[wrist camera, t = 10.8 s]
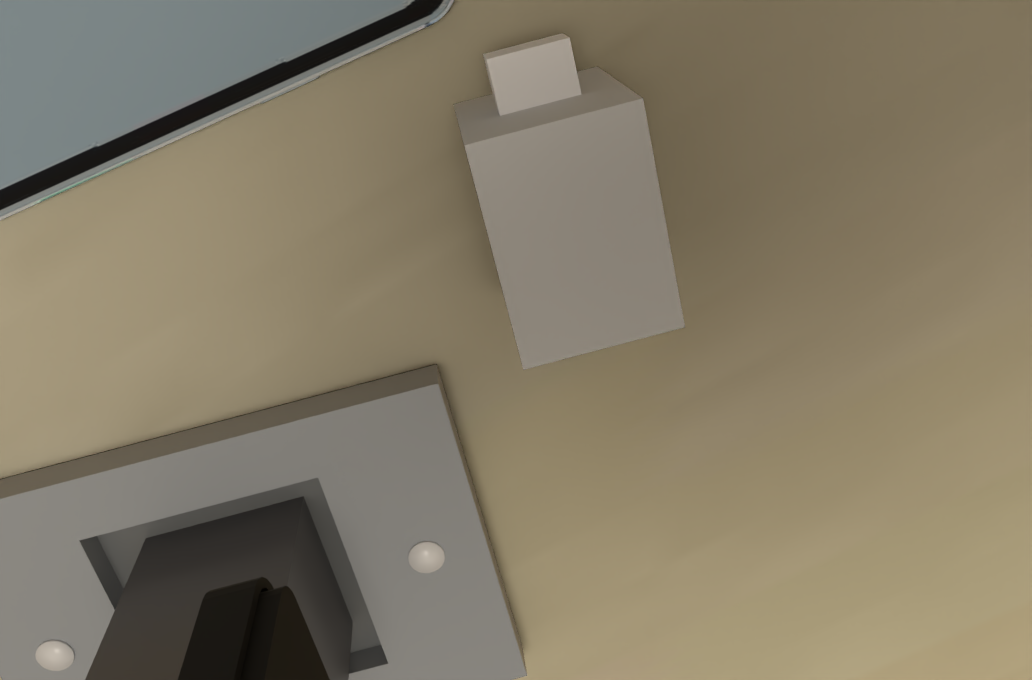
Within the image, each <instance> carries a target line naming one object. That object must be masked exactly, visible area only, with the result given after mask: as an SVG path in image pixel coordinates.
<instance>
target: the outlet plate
mask: <svg viewBox="0 0 1032 680" xmlns="http://www.w3.org/2000/svg"><path fill="white" fill-rule="evenodd" d="M302 496H304V499H305V501H306V504H307V506H308V509H309V511H310V514H311V516H312V519H313V521H314V524H315V527H316V529H317V532H318V534H319V537H320V539H321V542H322V544H323V547H324V550H325V552H326V555H327V557H328V560H329V562H330V565H331V567H332V570H333V572H334V575H335V578H336V580H337V583H338V585H339V588H340V590H341V593H342V595H343V598H344V601H345V603H346V606H347V608H348V611H349V613H350V616H351V618H352V621H353V627H352V640H351V653H350V666H349V679H348V680H512V679H516V678H520V677H524V676H527V672H526V666H525V659H524V653H523V648H522V644H521V641H520V638H519V635H518V631H517V628H516V625H515V621H514V618H513V615H512V611H511V608H510V605H509V602H508V598H507V595H506V592H505V588H504V585H503V582H502V578H501V575H500V572H499V568H498V565H497V562H496V559H495V555H494V552H493V549H492V545H491V542H490V539H489V535H488V532H487V529H486V526H485V522H484V519H483V516H482V512H481V509H480V506H479V502H478V499H477V496H476V492H475V489H474V486H473V483H472V479H471V476H470V473H469V469H468V466H467V463H466V459H465V456H464V453H463V450H462V446H461V443H460V440H459V436H458V433H457V430H456V426H455V423H454V420H453V417H452V413H451V410H450V407H449V403H448V400H447V397H446V393H445V390H444V387H443V383H442V380H441V377H440V374H439V370H438V367H437V364H436V365H432V366H428V367H425V368H421V369H417V370H413V371H409V372H406V373H402V374H398V375H394V376H390V377H387V378H383V379H379V380H375V381H372V382H368V383H364V384H360V385H356V386H353V387H349V388H345V389H341V390H337V391H334V392H330V393H326V394H322V395H318V396H315V397H311V398H307V399H303V400H300V401H296V402H292V403H288V404H284V405H281V406H277V407H273V408H269V409H265V410H262V411H258V412H254V413H250V414H246V415H243V416H239V417H235V418H231V419H228V420H224V421H220V422H216V423H212V424H209V425H205V426H201V427H197V428H193V429H190V430H186V431H182V432H178V433H174V434H171V435H167V436H163V437H159V438H156V439H152V440H148V441H144V442H140V443H137V444H133V445H129V446H125V447H121V448H118V449H114V450H110V451H106V452H102V453H99V454H95V455H91V456H87V457H84V458H80V459H76V460H72V461H68V462H65V463H61V464H57V465H53V466H49V467H46V468H42V469H38V470H34V471H30V472H27V473H23V474H19V475H15V476H12V477H8V478H4V479H0V677H1V679H2V680H85V679H86V676H87V674H88V672H89V669H90V667H91V665H92V662H93V660H94V658H95V655H96V653H97V651H98V648H99V646H100V644H101V641H102V639H103V637H104V634H105V632H106V630H107V627H108V625H109V623H110V620H111V618H112V616H113V613H114V611H115V609H116V606H117V604H118V602H119V599H120V597H121V595H122V592H123V590H124V588H125V585H126V583H127V581H128V578H129V576H130V574H131V571H132V569H133V567H134V564H135V562H136V560H137V557H138V555H139V553H140V550H141V548H142V546H143V543H144V541H145V539H146V538H148V537H152V536H156V535H160V534H163V533H167V532H171V531H175V530H178V529H182V528H186V527H190V526H193V525H197V524H201V523H205V522H208V521H212V520H216V519H220V518H223V517H227V516H231V515H235V514H239V513H242V512H246V511H250V510H254V509H257V508H261V507H265V506H269V505H272V504H276V503H280V502H284V501H287V500H291V499H295V498H299V497H302Z"/></svg>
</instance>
